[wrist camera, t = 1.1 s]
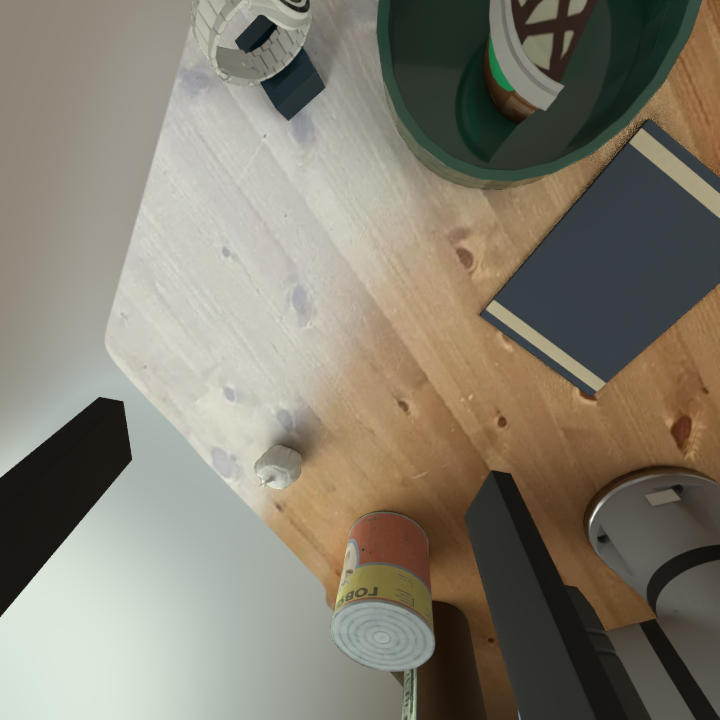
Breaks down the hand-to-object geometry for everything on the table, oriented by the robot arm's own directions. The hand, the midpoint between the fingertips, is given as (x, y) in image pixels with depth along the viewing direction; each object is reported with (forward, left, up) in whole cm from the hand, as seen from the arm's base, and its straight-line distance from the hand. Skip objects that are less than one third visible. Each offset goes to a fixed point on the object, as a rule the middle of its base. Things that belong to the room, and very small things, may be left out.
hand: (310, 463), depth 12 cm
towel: (-16, -16, -25) cm, 34 cm away
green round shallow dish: (+4, -24, -25) cm, 35 cm away
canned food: (-20, +26, -26) cm, 41 cm away
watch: (+19, -13, -26) cm, 34 cm away
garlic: (-1, +23, -26) cm, 34 cm away
